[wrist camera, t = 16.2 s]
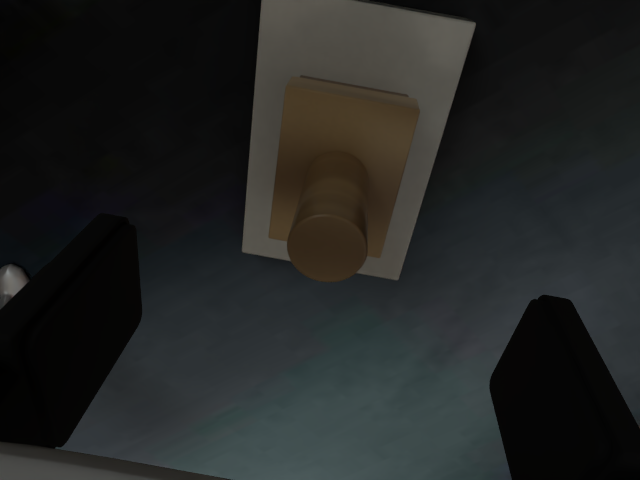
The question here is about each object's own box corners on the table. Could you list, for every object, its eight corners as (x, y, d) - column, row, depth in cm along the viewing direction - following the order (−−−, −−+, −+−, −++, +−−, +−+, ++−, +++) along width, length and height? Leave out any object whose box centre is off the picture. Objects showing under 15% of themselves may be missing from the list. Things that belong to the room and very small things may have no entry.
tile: (268, -18, 18) (262, -17, 17) (471, 19, 18) (477, 23, 17) (246, 240, 25) (241, 252, 24) (397, 267, 25) (398, 281, 24)
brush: (296, 68, 19) (255, 131, 12) (415, 90, 19) (438, 165, 12) (278, 208, 22) (239, 317, 16) (379, 227, 22) (382, 343, 16)
